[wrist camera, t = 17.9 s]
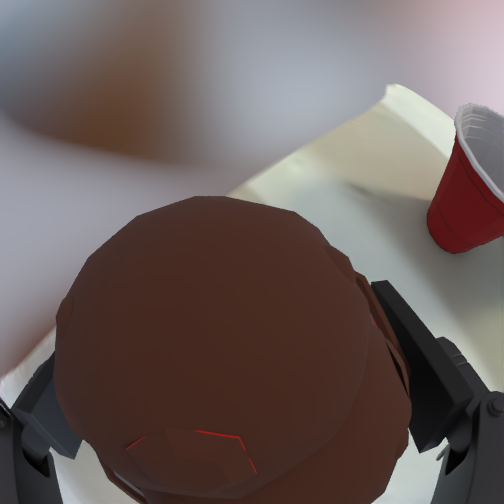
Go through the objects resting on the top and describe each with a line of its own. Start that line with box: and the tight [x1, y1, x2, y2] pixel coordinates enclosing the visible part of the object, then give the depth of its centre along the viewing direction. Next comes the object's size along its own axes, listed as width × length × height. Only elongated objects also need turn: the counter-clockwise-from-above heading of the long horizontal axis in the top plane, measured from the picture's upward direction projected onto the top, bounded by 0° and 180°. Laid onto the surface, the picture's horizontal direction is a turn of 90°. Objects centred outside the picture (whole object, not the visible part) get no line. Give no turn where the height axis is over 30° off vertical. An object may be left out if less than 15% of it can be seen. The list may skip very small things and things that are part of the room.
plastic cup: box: [427, 103, 504, 254], centre depth 17 cm, size 11×11×12 cm
